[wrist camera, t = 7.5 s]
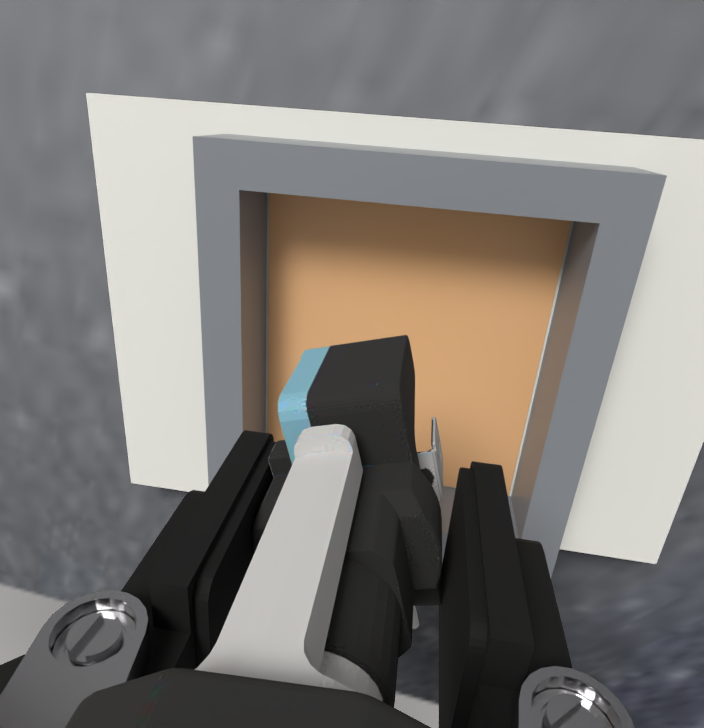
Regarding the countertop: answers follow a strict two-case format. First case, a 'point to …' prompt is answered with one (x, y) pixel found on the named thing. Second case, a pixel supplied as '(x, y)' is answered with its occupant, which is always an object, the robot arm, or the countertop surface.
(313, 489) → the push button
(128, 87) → the countertop surface
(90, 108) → the dock board
